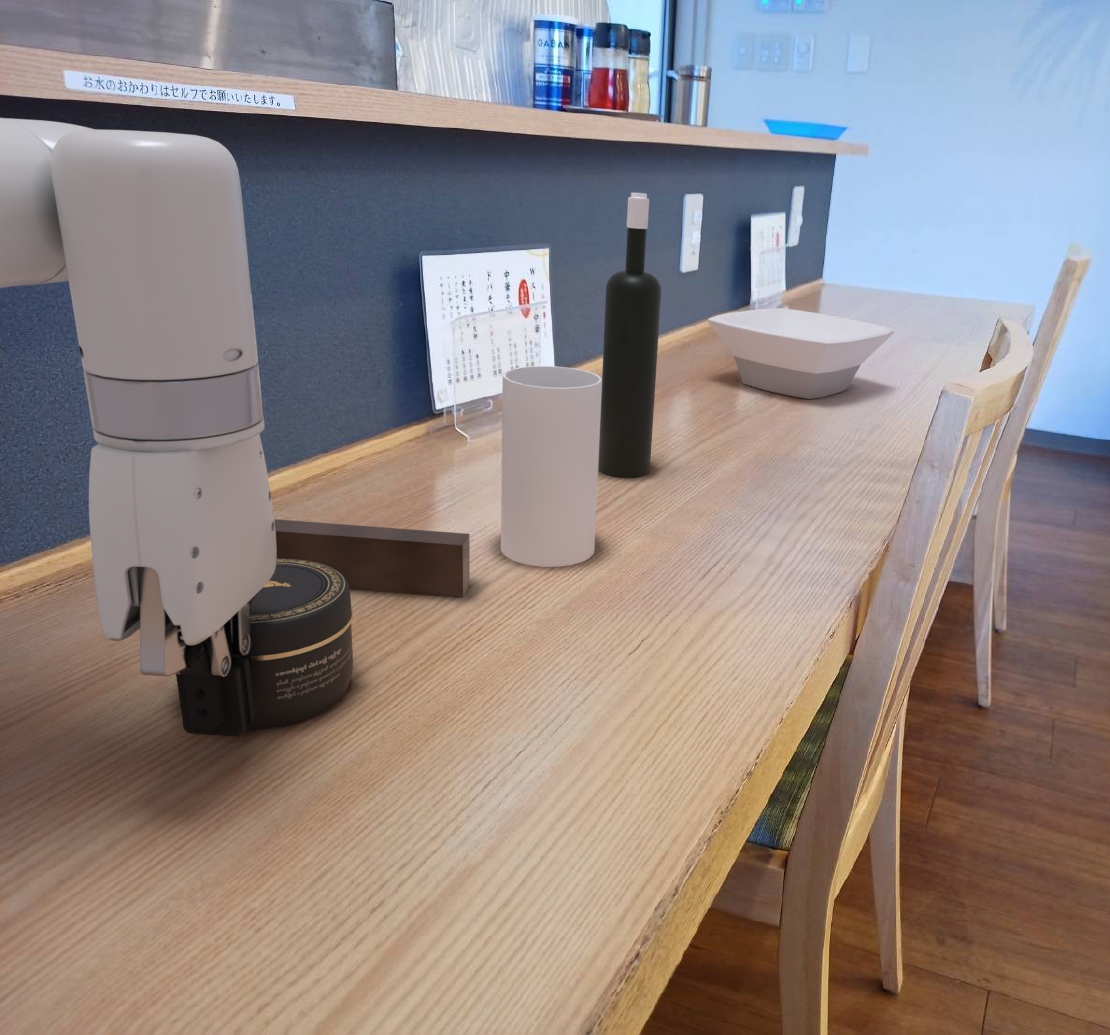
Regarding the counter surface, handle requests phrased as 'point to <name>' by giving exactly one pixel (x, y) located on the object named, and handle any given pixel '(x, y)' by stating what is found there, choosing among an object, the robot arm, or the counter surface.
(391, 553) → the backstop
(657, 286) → the wine bottle
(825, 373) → the bowl
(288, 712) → the jar
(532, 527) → the cup
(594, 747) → the counter surface
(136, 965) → the counter surface
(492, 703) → the counter surface
